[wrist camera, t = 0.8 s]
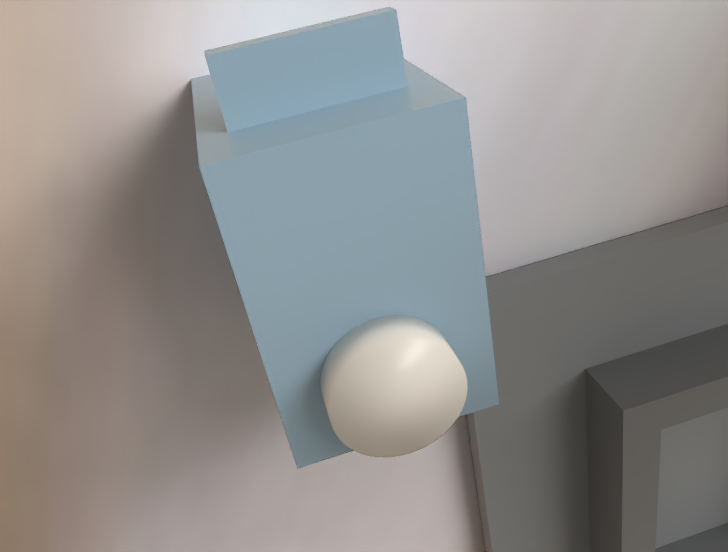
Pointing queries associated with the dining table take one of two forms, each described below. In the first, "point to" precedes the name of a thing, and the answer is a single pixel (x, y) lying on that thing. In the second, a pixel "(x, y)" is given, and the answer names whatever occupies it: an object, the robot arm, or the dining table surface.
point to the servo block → (350, 233)
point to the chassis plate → (610, 397)
